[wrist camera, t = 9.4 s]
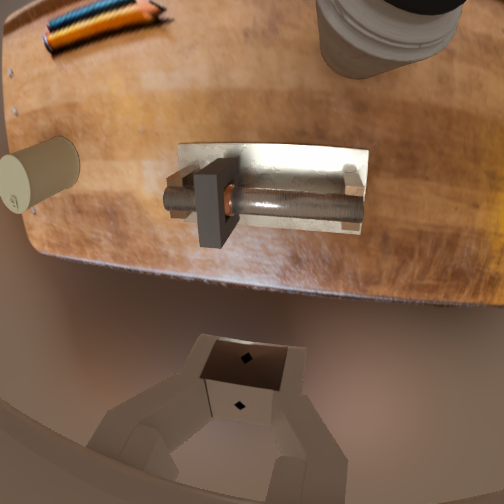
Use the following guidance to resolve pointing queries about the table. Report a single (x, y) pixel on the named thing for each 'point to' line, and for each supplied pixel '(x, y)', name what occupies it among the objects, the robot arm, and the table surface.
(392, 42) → the thermos bottle
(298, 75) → the table surface
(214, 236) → the collar
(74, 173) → the can
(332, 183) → the rail
